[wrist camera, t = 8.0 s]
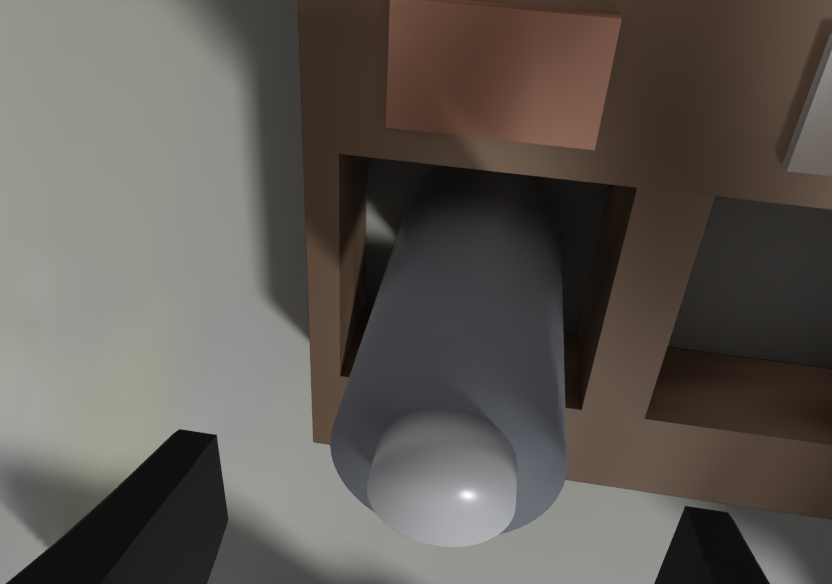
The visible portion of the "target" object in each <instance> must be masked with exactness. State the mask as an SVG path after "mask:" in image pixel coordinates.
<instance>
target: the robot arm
mask: <svg viewBox="0 0 832 584" xmlns="http://www.w3.org/2000/svg"><path fill="white" fill-rule="evenodd" d="M227 522H228V514H227V507H226V500H225V493H224V485H223V478H222V471H221V464H220V457H219V449H218V442H217V435H213V434H207V433H200V432H194V431H187V430H181V429H179V430H178V431H176V432H175V433H174V434H172V435H171V436H170V437H169V438H168V439H167V440H166V441H165V442H164V443H163V444H162V445H161V446H160V447H159V448H158V449H157V450H156V451H155V452H154V453H153V454H152V455H151V456H150V457H149V458H148V459H146V460H145V461H144V462H143V463H142V464H141V465H140V466H139V467H138V468H137V469H136V470H135V471H134V472H133V473H132V474H131V475H130V476H129V477H128V478H127V479H125V480H124V481H123V482H122V483H121V484H120V485H119V486H118V487H117V488H116V489H115V490H114V491H113V492H112V493H111V494H109V495H108V496H107V497H106V498H105V499H104V500H103V501H102V502H101V503H100V504H98V505H97V506H96V507H95V508H94V509H93V510H92V511H91V512H90V513H88V514H87V515H86V516H85V517H84V518H83V519H82V520H81V521H79V522H78V523H77V524H76V525H75V526H74V527H73V528H72V529H71V530H69V531H68V532H67V533H66V534H65V535H64V536H63V537H61V538H60V539H59V540H58V541H57V542H56V543H55V544H53V545H52V546H51V547H50V548H48V549H47V550H46V551H45V552H44V553H42V554H41V555H40V556H39V557H38V558H37V559H35V560H34V561H33V562H32V563H30V564H29V565H28V566H27V567H25V568H24V569H23V570H22V571H21V572H19V573H18V574H17V575H16V576H15V577H13V578H12V579H11V580H10V581H8V582H7V583H6V584H207V581H208V579H209V576H210V573H211V570H212V567H213V564H214V561H215V559H216V556H217V553H218V550H219V547H220V544H221V541H222V537H223V534H224V531H225V528H226V525H227ZM654 584H770V583H769V581H768V580H767V578H766V576H765V575H764V573H763V571H762V569H761V568H760V566H759V564H758V562H757V561H756V559H755V557H754V555H753V554H752V552H751V550H750V548H749V547H748V545H747V543H746V541H745V540H744V538H743V536H742V534H741V533H740V531H739V529H738V527H737V525H736V524H735V522H734V520H733V519H732V517H731V516H730V515H729V513H727V512H721V511H714V510H708V509H701V508H694V507H688V506H685V508H684V511H683V513H682V516H681V518H680V521H679V523H678V526H677V528H676V531H675V533H674V536H673V538H672V541H671V543H670V546H669V548H668V551H667V553H666V556H665V558H664V561H663V563H662V566H661V568H660V571H659V573H658V576H657V578H656V581H655V583H654Z"/></svg>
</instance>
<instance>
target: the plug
mask: <svg viewBox="0 0 832 584" xmlns="http://www.w3.org/2000/svg"><path fill="white" fill-rule="evenodd" d="M330 447H331V455H332V459H333V462H334V465H335V468H336V470H337V472H338V474H339V476H340V478H341V479H342V481H343V482H344V484H345V485H346V487H347V488H348V489H349V490H350V491H351V492H352V494H353V495H354V496H355V497H356V498H357V499H358V500H360V501H361V502H362V503H363V504H364V505H365V506H367V507H368V508H369V509H371V510H372V511H374V512H375V513H376V514H377V515H378V516H379V518H380V519H381V520H382V521H383V522H384V523H385V524H387V525H388V526H389V527H391V528H392V529H393V530H395V531H396V532H398V533H400V534H402V535H404V536H406V537H408V538H410V539H413V540H415V541H418V542H422V543H425V544H430V545H435V546H443V547H463V546H470V545H475V544H479V543H482V542H485V541H487V540H490V539H492V538H493V537H495V536H497V535H498V534H502V533H506V532H509V531H512V530H515V529H517V528H520V527H522V526H524V525H526V524H528V523H530V522H532V521H533V520H534V519H536V518H537V517H539V516H540V515H542V514H543V513H544V512H545V511H546V510H547V509H548V508H549V507H550V506H551V505H552V504H553V502H554V501H555V500H556V499H557V497H558V495H559V493H560V492H561V490H562V487H563V484H564V481H565V478H566V471H567V450H566V411H565V373H564V334H563V296H562V258H561V224H560V216H559V212H558V208H557V206H556V203H555V201H554V199H553V197H552V195H551V194H550V192H549V191H548V190H547V188H546V187H545V186H544V184H543V183H542V182H541V181H540V180H539V179H538V178H536V177H535V176H530V175H521V174H513V173H504V172H495V171H486V170H477V169H469V168H460V167H451V166H442V167H440V168H438V169H436V170H435V171H433V172H432V173H430V174H429V175H428V176H427V177H426V178H425V179H424V180H423V181H422V182H421V183H420V184H419V185H418V187H417V188H416V189H415V191H414V193H413V194H412V196H411V198H410V201H409V203H408V206H407V209H406V212H405V215H404V217H403V220H402V223H401V226H400V229H399V232H398V235H397V238H396V241H395V244H394V247H393V250H392V253H391V256H390V259H389V262H388V265H387V268H386V271H385V274H384V276H383V279H382V282H381V285H380V288H379V291H378V294H377V297H376V300H375V303H374V306H373V309H372V312H371V315H370V318H369V321H368V324H367V327H366V330H365V333H364V336H363V338H362V341H361V344H360V347H359V350H358V353H357V356H356V359H355V362H354V365H353V368H352V371H351V374H350V377H349V380H348V383H347V386H346V389H345V392H344V395H343V397H342V400H341V403H340V406H339V409H338V412H337V415H336V418H335V421H334V424H333V428H332V432H331V442H330Z"/></svg>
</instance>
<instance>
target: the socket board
mask: <svg viewBox="0 0 832 584" xmlns="http://www.w3.org/2000/svg"><path fill="white" fill-rule="evenodd" d="M298 20H299V48H300V77H301V105H302V134H303V163H304V191H305V220H306V248H307V277H308V306H309V334H310V363H311V391H312V420H313V442H315V443H322V444H329V445H330V442H331V432H332V428H333V424H334V421H335V418H336V415H337V412H338V409H339V406H340V403H341V400H342V397H343V395H344V392H345V389H346V386H347V383H348V380H349V377H350V374H351V371H352V368H353V365H354V362H355V359H356V356H357V353H358V350H359V347H360V344H361V341H362V338H363V336H364V333H365V330H366V327H367V324H368V321H369V318H370V315H371V312H372V309H373V308H366V307H364V301H365V246H366V191H367V157H371V158H380V159H389V160H398V161H407V162H416V163H424V164H433V165H442V166H451V167H460V168H469V169H477V170H486V171H495V172H504V173H513V174H521V175H530V176H539V177H548V178H557V179H566V180H574V181H583V182H592V183H601V184H610V185H612V186H611V191H610V195H609V200H608V204H607V208H606V213H605V217H604V222H603V226H602V230H601V235H600V239H599V243H598V248H597V252H596V257H595V261H594V265H593V270H592V274H591V279H590V283H589V287H588V292H587V296H586V301H585V305H584V309H583V314H582V318H581V322H580V327H579V331H578V335H570V334H564V373H565V411H566V450H567V471H566V478H565V480H570V481H576V482H583V483H590V484H597V485H603V486H610V487H617V488H623V489H630V490H637V491H643V492H650V493H657V494H664V495H670V496H677V497H684V498H690V499H697V500H704V501H710V502H717V503H724V504H730V505H737V506H744V507H751V508H757V509H764V510H771V511H777V512H784V513H791V514H797V515H804V516H811V517H818V518H824V519H831V520H832V369H828V368H821V367H813V366H806V365H798V364H791V363H783V362H775V361H768V360H760V359H753V358H745V357H737V356H730V355H722V354H715V353H707V352H699V351H692V350H684V349H677V348H669V347H668V344H669V340H670V337H671V334H672V331H673V328H674V325H675V322H676V318H677V315H678V312H679V309H680V306H681V303H682V300H683V297H684V293H685V290H686V287H687V284H688V281H689V278H690V275H691V272H692V268H693V265H694V262H695V259H696V256H697V253H698V250H699V247H700V243H701V240H702V237H703V234H704V231H705V228H706V225H707V221H708V218H709V215H710V212H711V209H712V206H713V203H714V200H715V196H716V197H725V198H733V199H742V200H751V201H760V202H769V203H778V204H786V205H795V206H804V207H813V208H822V209H831V210H832V0H298Z"/></svg>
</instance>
